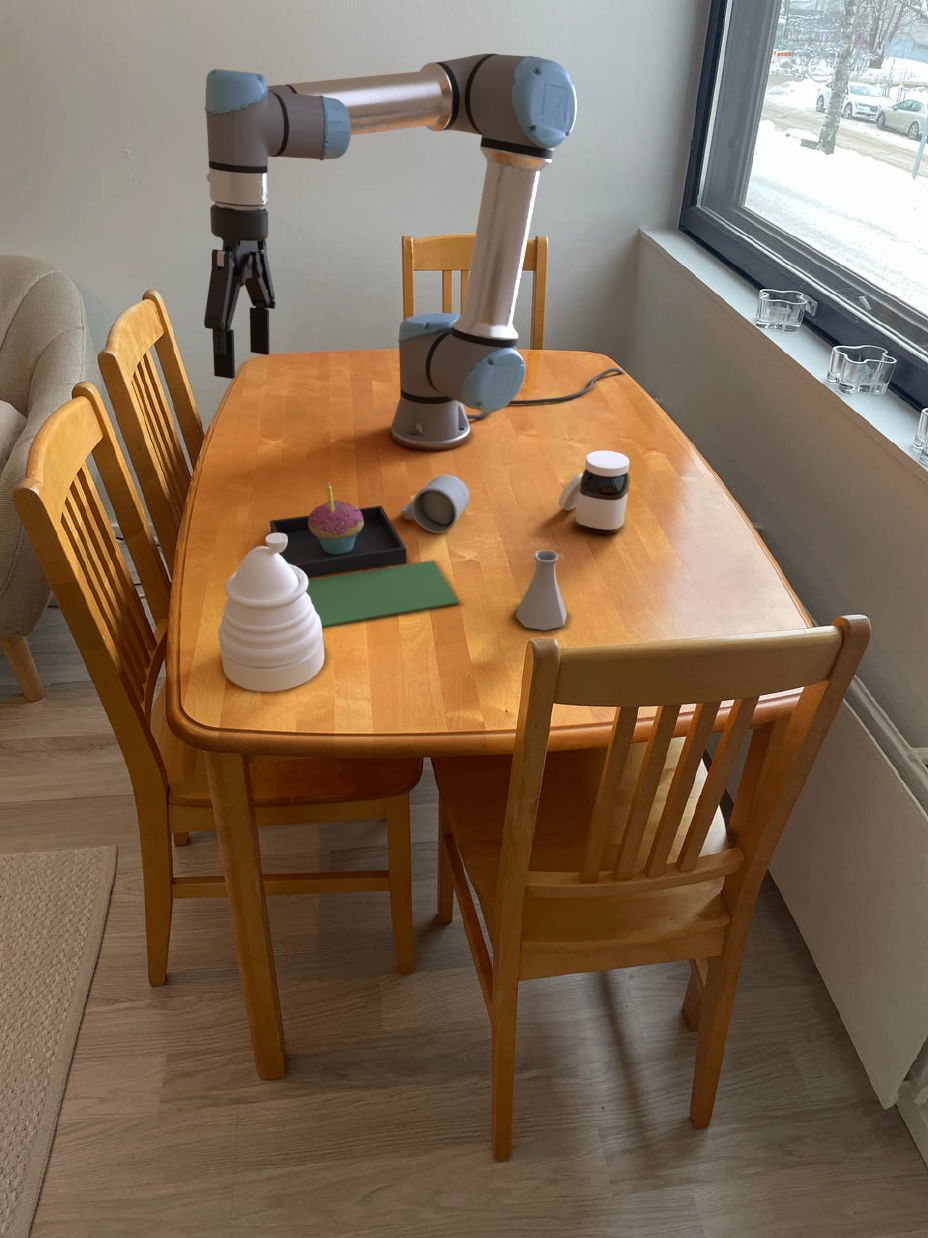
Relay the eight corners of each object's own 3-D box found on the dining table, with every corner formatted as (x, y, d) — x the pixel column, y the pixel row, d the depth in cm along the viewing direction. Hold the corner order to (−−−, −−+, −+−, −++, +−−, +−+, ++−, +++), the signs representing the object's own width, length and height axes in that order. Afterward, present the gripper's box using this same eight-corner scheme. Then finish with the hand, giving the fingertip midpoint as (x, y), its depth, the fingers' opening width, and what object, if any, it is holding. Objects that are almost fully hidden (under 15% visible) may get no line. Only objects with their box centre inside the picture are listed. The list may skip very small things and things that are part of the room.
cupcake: (355, 563, 138) (351, 491, 131) (301, 556, 139) (295, 485, 132) (371, 536, 145) (368, 466, 138) (320, 530, 146) (314, 461, 139)
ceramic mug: (471, 514, 152) (472, 472, 148) (456, 537, 146) (456, 493, 141) (412, 505, 155) (410, 463, 150) (394, 527, 148) (392, 483, 144)
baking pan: (381, 518, 150) (381, 505, 149) (406, 562, 139) (406, 548, 137) (270, 534, 145) (269, 520, 144) (287, 581, 134) (285, 566, 132)
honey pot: (324, 629, 124) (315, 511, 114) (324, 688, 113) (314, 564, 103) (228, 634, 122) (209, 515, 112) (218, 694, 112) (197, 569, 102)
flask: (512, 603, 130) (515, 542, 124) (562, 602, 131) (568, 541, 125) (518, 632, 124) (523, 570, 119) (571, 631, 125) (578, 568, 119)
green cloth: (433, 562, 139) (433, 560, 139) (458, 604, 130) (458, 601, 129) (302, 583, 133) (302, 580, 133) (319, 628, 124) (319, 625, 124)
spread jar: (617, 543, 145) (626, 476, 139) (548, 530, 148) (553, 464, 142) (630, 510, 155) (639, 446, 148) (565, 499, 158) (571, 436, 151)
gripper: (246, 193, 132) (250, 340, 143) (170, 211, 111) (181, 383, 122) (296, 199, 132) (296, 347, 142) (229, 219, 110) (234, 392, 121)
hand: (243, 364), depth 132 cm, fingers open, 13 cm apart
